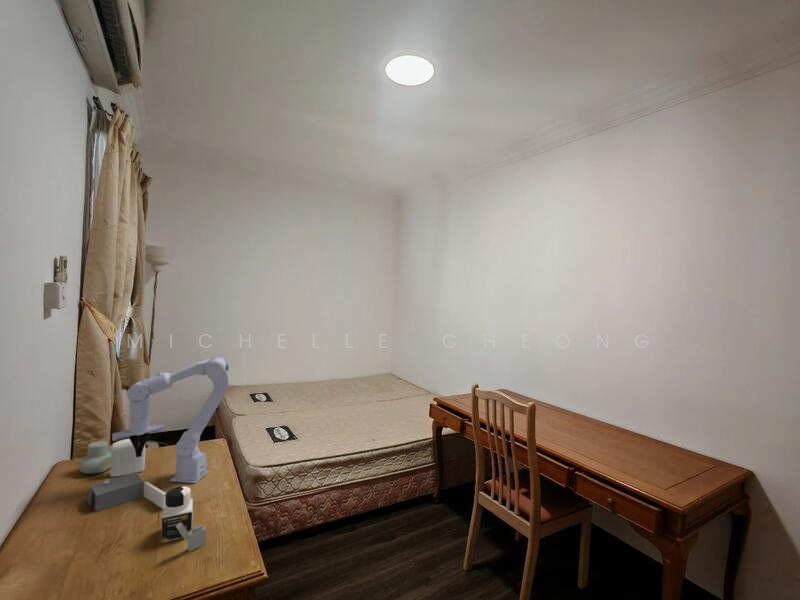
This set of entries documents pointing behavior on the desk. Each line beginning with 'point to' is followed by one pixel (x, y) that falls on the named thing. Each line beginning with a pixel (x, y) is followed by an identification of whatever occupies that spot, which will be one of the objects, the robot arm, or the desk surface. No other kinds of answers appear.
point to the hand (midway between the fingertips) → (138, 455)
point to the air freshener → (96, 458)
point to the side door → (154, 494)
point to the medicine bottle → (177, 513)
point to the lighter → (193, 536)
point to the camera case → (115, 491)
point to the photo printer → (125, 459)
